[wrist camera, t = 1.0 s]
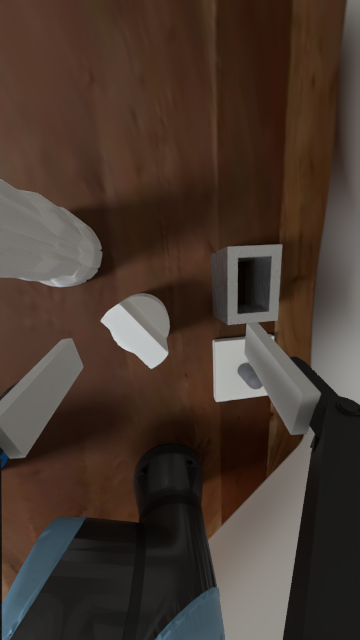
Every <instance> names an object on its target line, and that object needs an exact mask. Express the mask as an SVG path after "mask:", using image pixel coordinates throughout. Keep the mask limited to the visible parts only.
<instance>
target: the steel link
mask: <svg viewBox="0 0 360 640" xmlns="http://www.w3.org/2000/svg"><path fill="white" fill-rule="evenodd" d="M281 258H282V244H278V245H256V246H233V247H226V248H224V249H222V250H219V251H217V252H215V253H213V254H211V280H212V315H213V316H215V317H216V318H218V319H219V320H221V321H222V322H224V323H226V324H227V325H231V324H243V323H252V322H265V321H276V320H278V308H279V291H280V275H281ZM243 261H246V267H245V305H237V300H238V262H243Z"/></svg>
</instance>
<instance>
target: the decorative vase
mask: <svg viewBox="0 0 360 640" xmlns="http://www.w3.org/2000/svg"><path fill="white" fill-rule="evenodd" d="M101 249H102V247H101V244H100V241H99V239H98V237H97V236H96V234H95V233H94V231H93V230H92V229H91V228H90V227H89V226H87V225H86V224H85V223H84V222H82V221H81V220H80V219H78V218H77V217H76V216H74V215H73V214H72V213H70V212H69V211H68V210H66V209H64V208H62V207H57V206H56V205H54V204H53V203H51V202H50V201H49V200H47V199H46V198H44V197H43V196H41V195H40V194H39V193H35V192H29V191H24V190H17V189H16V188H14V187H13V186H11V185H9V184H8V183H6V182H5V181H3V180H2V179H0V278H19V279H23V280H27V281H39V282H41V283H44V284H47V285H50V286H57V287H68V286H76V285H80V284H83V283H85V282H87V281H86V280H89V279H91V278H92V277H93V276H94V275H95V274H96V273H97V272H98V269H97V268H99V267H100V264H101V260H102V251H100V250H101Z"/></svg>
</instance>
